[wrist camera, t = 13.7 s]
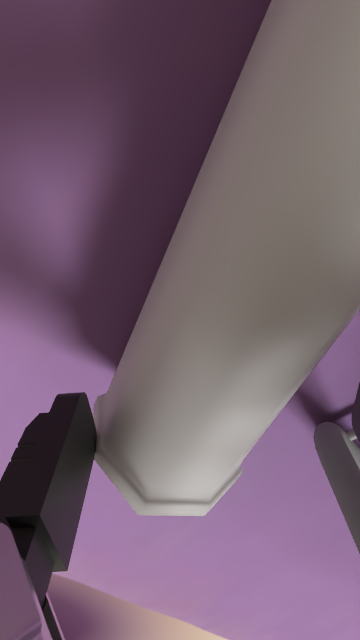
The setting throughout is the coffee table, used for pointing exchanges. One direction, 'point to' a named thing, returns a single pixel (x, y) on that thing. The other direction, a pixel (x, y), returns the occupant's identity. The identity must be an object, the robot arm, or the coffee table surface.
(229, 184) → the tube
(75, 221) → the coffee table surface
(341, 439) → the newton's cradle
